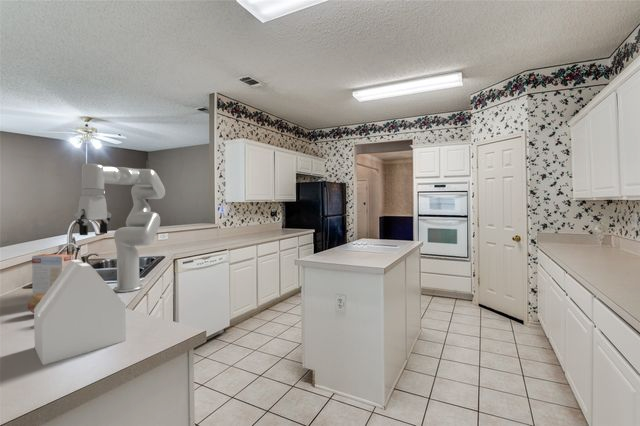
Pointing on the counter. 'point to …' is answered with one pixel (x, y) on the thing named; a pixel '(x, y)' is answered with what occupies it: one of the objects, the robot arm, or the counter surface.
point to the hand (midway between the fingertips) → (94, 234)
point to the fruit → (35, 302)
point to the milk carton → (77, 315)
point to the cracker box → (47, 271)
